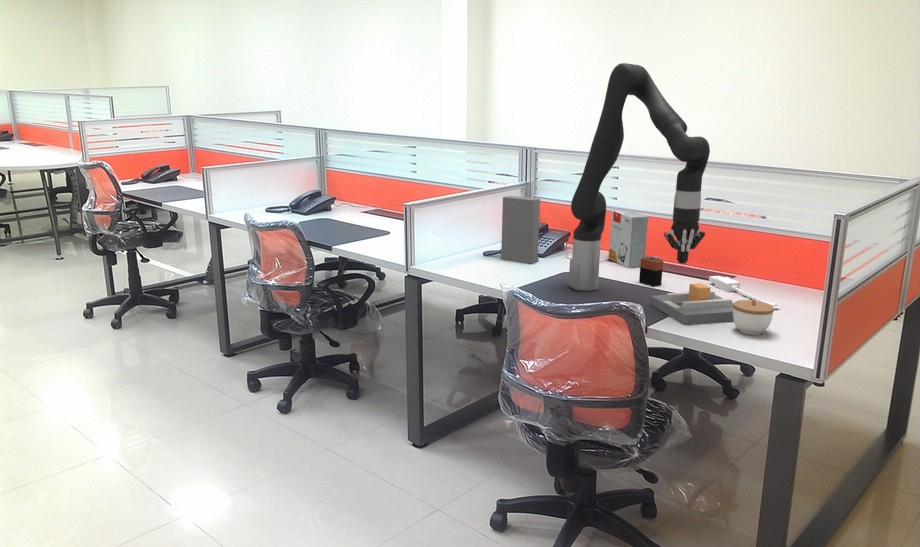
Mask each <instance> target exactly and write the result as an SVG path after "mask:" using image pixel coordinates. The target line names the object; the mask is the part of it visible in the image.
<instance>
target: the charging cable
mask: <svg viewBox="0 0 920 547" xmlns="http://www.w3.org/2000/svg"><path fill="white" fill-rule="evenodd" d="M708 281H709V282H710V283H712V284H714V287H716V288H717V289H720V290H722V291H724V292H726V293H730V292H739V293H741V294H744V295H745V296H746V297H747V296H748V297H750V298H751V299H755V300H756V301H760V302H764V303H767V304H770V305H772V306H773V307H774V310H779V309H780V307H779V306H778V304H777V303H775V302H772V301H768V300H767V301H766V300H762V299H761V298H758V297H756V296H755V295H753V294H751V293H748V292H746V291H745V290H744V291H743V290H742V289H741V282H739V281H737V280H735V279H734V278H731V277H728V276H722V275H712V276H711V275H710V276H709V277H708Z"/></svg>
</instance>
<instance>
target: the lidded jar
mask: <svg viewBox="0 0 920 547" xmlns="http://www.w3.org/2000/svg"><path fill="white" fill-rule="evenodd" d="M751 299H752V300H751ZM751 299H740V300H736V301H734V302H732V303H733V320H734V321H733V323H734V325H735V326H736V327H737V329H738V331H739V332H740V333H742V334H746V335H751V336H758V335H762V333H764V332H765V331H766V330H767V329H768V328H769V327H770V325H771V323H772V322H773V321H772V320H773V316H774V310H775V309H774V307H773V306H772V305H770V304H767V303H764V302H760V301H757V300H755V299H753V298H751Z"/></svg>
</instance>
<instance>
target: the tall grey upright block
mask: <svg viewBox="0 0 920 547" xmlns="http://www.w3.org/2000/svg"><path fill="white" fill-rule="evenodd" d="M540 211H541V198H535V197H526V196H525V197H524V196H517V195H506V196H503V197H502V211H501V212H502V213H501V214H502V216H501V217H502V218H501V219H502V220H501V246H500V248H501V249H500V250H501V251H500V252H501V253H500V260H503V261H505V260H506V261H512V262H519V263H525V264H529V265H532V264H535V263H537V262H539V260H540V258H539V256H538V254H539V239H540V238H539V237H540V235H539V234H540Z"/></svg>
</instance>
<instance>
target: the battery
mask: <svg viewBox="0 0 920 547" xmlns="http://www.w3.org/2000/svg"><path fill="white" fill-rule="evenodd" d="M663 267H664V259H661V258H660V256H655V255H654V256H651V255H649V254H647V255H646V254H645V257H643V258H641V263H640V267H639V277H638V278H639V279H638V282H639V283H640V284H643V285H647V286H651V287H657V286H660V285H662V280H663V279H662V278H663Z"/></svg>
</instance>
